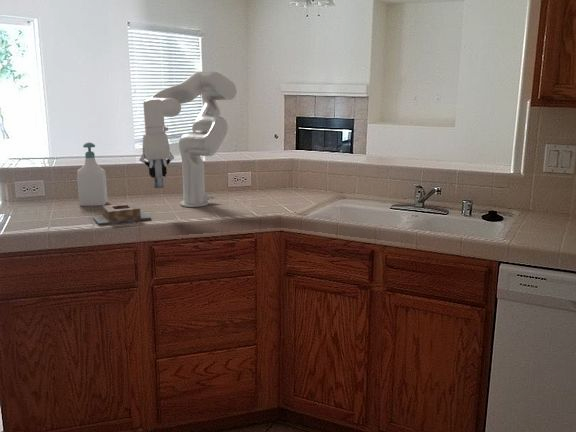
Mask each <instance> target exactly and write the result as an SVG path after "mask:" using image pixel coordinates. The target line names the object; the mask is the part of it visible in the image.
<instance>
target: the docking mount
mask: <svg viewBox="0 0 576 432" xmlns="http://www.w3.org/2000/svg"><path fill="white" fill-rule="evenodd" d="M101 206H102V207H101V208H102V215H95V216H94V215H93V216H92V220H93V221H94V223H96V225H97V226H98V227H100V226H101V225H102V226H109V225H110V224H111V225H120V224H126V222H129V223H136V222H135V221H138V222H144V221H146V220H147V221H152V217H151V216H150V215H148V214H147V213H146V212H144V211H141V208H140V207H139V206H137V205H136V204H135V203H133V202H128V203H127V202H126V203H118V204H116V203H115V204H108V205H107V204H105V205H101ZM119 223H120V224H119Z"/></svg>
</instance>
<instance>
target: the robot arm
mask: <svg viewBox="0 0 576 432" xmlns="http://www.w3.org/2000/svg"><path fill="white" fill-rule="evenodd" d="M237 90H238V89H237V86H236V84H235V83H234V81H232V80H231V79H230V78H228V77H227V76H225V75H223V74H221V73H219V72H218V71H196V72H194V73H192V74H191V75H190V76H189V77H187V78H186V79H184V80H183V81H182V82H180V83H179V84H176V85H172V86H170V87H167V88H164V89H162V90H159V91H158V92H156V93H155V94H153V95H151V97H150V98H148V99H145V100H144V101H143V118H144V130H145V134H143V136H142V154H141V156H140V158H139V162H141V163H142V164H144V165H145V166H146V167H148V175H149V176H150V177H151V178H152V179H153V178H154V168H153V160H156V159H162V164H163V178H164V177H165V178H166V176H167V173H168V169H167V167H168V165H169V164H170V163H171V162H172V161H173V160H175V156H174V155H173V153H171V149H170V143H169V139H168V135H167V134H168V133H166V132H168V131H169V127H167V126H165V117H167V118H173V117H177V116H178V115H179V114H180V113H181V110H182V104H187V103H190V102H192V101H194V100H195V99H196V98H197V97H199V96H200V95H201V99H202V108H201V110H200V112H199V113H198V115H197V117H196V119H195V120H194V122H193V124H192V126H191V129H192V132H189V133H184V134H183V135H181V136H180V138H179V139H178V140H179V141H178V150H179V152H180V157H181V167H182V168H181V170H182V173H181V174H182V194H183V195H182V197H183V200H181V201H179V205H180V206H181V207H186V208H198V207H204V206H206V207H207V206H208V205H209V204H210V203H209V202H210V201H209V200H215V199H216V194H207V193H206V186H205V163H204V161H203V159H202V157H213V156H214V155H216V153H217V152H218V151H219V149H220V147H221V145H222V143H223V142H224V140H225V138H226V136H227V134H228V131H229V130H228V122H227V119H225V118H224V117H222V116H221V110H220V109H221V108H220V107H219V106H218V105H219V104H218V103H217V101H231V100H233V99H235V98H236V96H237Z"/></svg>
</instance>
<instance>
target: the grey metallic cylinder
mask: <svg viewBox="0 0 576 432" xmlns="http://www.w3.org/2000/svg"><path fill="white" fill-rule="evenodd" d="M153 168H154V178H152V180H153V182H152V183H153V188H154V189H163V188H165V186H164V185H165V181H164V180H165V179H164V176H163V164H162V159H156V160H153Z"/></svg>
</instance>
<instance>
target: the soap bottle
mask: <svg viewBox="0 0 576 432" xmlns="http://www.w3.org/2000/svg"><path fill="white" fill-rule="evenodd" d="M95 147H96V144H94V143H93V142H89V141H88V142H86V143H84V144H83V148H87V151H86V152H85V154H84V155H85V159H84V161H85V162H84V164H83V165H82V166H81V167H80V168H78V169H77V170H76V182H77V191H78V193H77V194H78V205H79V206H81V207H82V206H83V207H84V206H87V207H88V206H106V205H107V203H108V201H109V200H108V189H107V187H108V186H107V175H106V173H107V172H106V170H105V169H104V168H102V167H101V166H100V165H99V164H98V163H97V161H96V158H95V157H96V156H95V152H94V151H92V148H95Z"/></svg>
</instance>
